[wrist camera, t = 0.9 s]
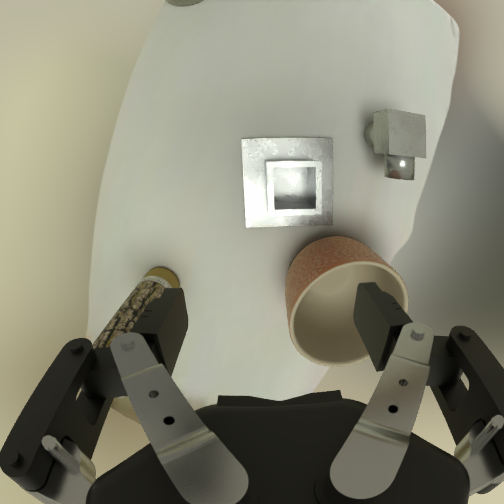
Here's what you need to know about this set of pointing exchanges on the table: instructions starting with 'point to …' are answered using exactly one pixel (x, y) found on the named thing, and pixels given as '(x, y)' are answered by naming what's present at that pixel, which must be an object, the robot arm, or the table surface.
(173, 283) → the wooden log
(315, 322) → the planter
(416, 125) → the silver block with cylinder
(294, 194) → the duct socket
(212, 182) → the table surface
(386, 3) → the table surface
